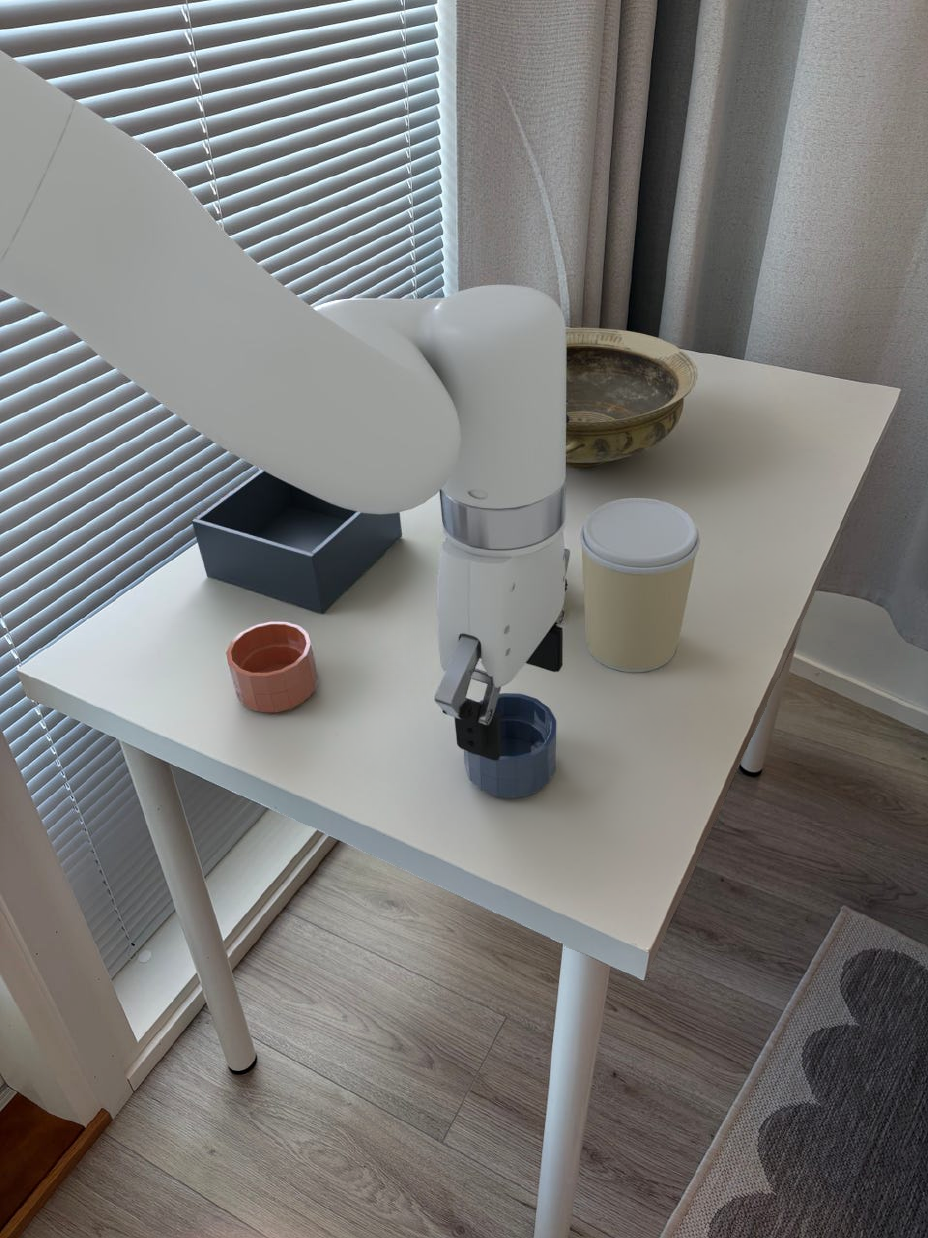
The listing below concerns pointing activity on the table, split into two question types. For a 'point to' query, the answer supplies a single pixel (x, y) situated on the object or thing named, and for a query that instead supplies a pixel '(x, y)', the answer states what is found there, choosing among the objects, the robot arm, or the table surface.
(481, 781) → the faceted blue pot
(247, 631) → the terracotta flower pot
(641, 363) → the ceramic bowl
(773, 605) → the table surface
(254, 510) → the tub
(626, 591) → the coffee cup
